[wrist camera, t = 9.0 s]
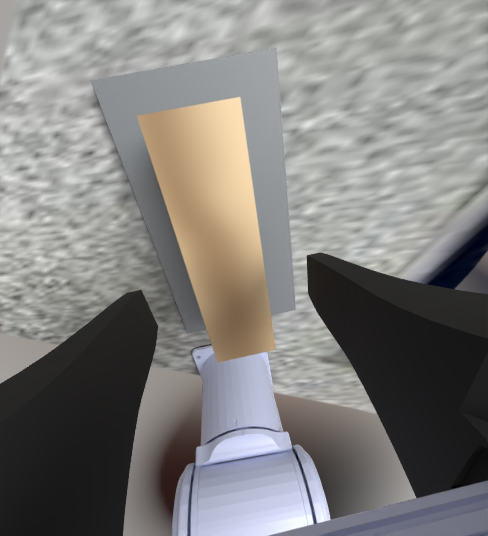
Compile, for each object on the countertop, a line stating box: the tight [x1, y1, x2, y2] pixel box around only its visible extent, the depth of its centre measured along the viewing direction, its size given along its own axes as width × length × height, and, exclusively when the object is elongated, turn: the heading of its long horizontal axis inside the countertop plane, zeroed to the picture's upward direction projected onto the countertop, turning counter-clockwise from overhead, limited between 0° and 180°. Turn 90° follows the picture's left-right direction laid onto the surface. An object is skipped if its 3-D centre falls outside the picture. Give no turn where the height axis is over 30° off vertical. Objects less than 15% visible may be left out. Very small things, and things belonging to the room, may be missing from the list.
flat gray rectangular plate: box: [91, 48, 296, 333], centre depth 18 cm, size 20×11×3 cm, turn 9°
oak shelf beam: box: [137, 97, 276, 363], centre depth 14 cm, size 4×14×5 cm, turn 9°
